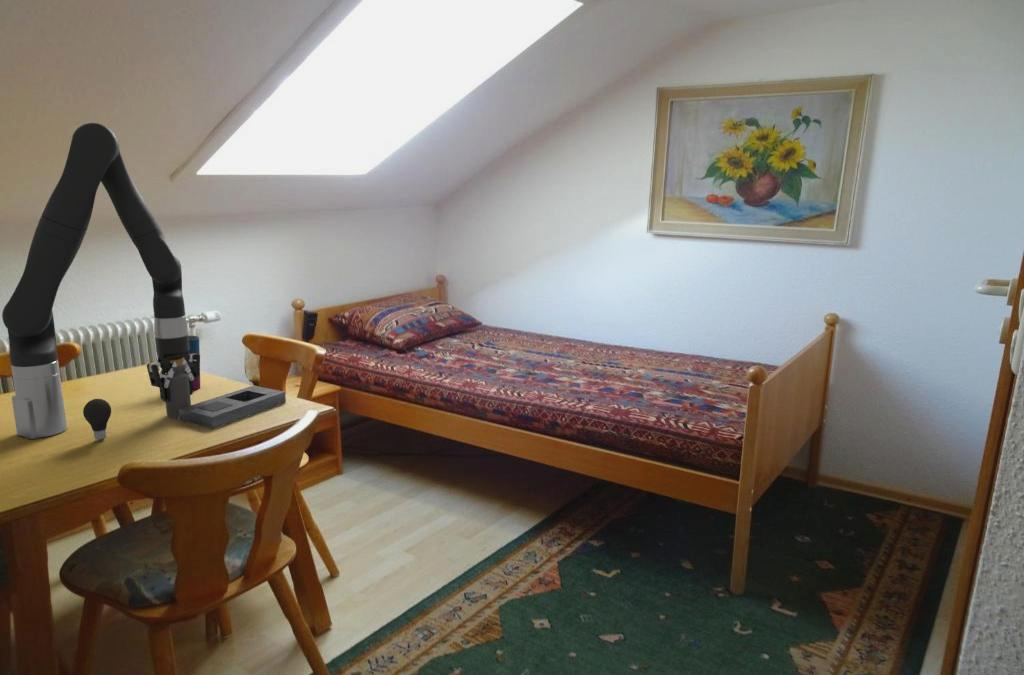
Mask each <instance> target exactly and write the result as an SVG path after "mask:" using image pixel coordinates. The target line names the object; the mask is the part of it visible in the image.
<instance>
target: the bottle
mask: <svg viewBox="0 0 1024 675" xmlns="http://www.w3.org/2000/svg"><path fill="white" fill-rule="evenodd" d="M183 360H184V357H183V358H179V359H175V360H171V361H170V363H172V362H176V364H177V366H176V367H175V368H173V370H172V371H174V374H173V377H172V379H170V382H169V386H168V387H169V391H170V401H169V402H165V411H166V417H167V418H169V419H180V417H179V409H181V408H184V407H188V406H191V405H192V400H191V395H190V388H189V378H188V374H187V373H186V372H184V369H185V368H186V365H183V364H182V363H183ZM166 375H167V373H166ZM164 381H165V378H164Z"/></svg>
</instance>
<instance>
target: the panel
mask: <svg viewBox="0 0 1024 675" xmlns="http://www.w3.org/2000/svg"><path fill="white" fill-rule="evenodd" d="M286 402H287V400H286V391H283V390H279V389H272V388H268V387H262V386H259V385H258V386H257V385H251V386H247V387H243V388H242V389H238V390H236V391H232V392H228V393H225V394H223V395H220V396H217V397H213V398H210V399H206V400H204V401H200V402H197V403H194V404H191V406H188V407H184V408H181V409H179V417H180V418H179V421H180V422H184V423H188V424H193V425H197V426H201V427H204V428H208V429H211V430H213V429H217V428H219V427H222V426H225V425H227V424H229V423H230V424H231V423H232V422H236V421H238V420H241V419H243V418H247V417H249V416H253V415H255V414H257V413H260V412H263V411H265V410H268V409H272V408H274V407H277V406H280V405H282V404H286Z"/></svg>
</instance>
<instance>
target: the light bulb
mask: <svg viewBox="0 0 1024 675" xmlns="http://www.w3.org/2000/svg"><path fill="white" fill-rule="evenodd" d="M82 410H83V411H82V413H83V417H84V419H85V420H86V421H87V422H88V424H89V425H90V426H91V430H92V431H93V437H94V440H98V442H102V441H104V439H106V438H107V424H108V422H109V420H110V418H111V414H112V407H111V405H110V403H109V402H108V401H106V400H105V399H102V398H93V399H91V400H89V401H88V402H87V403H86V404H85V405H84V407H83V409H82Z"/></svg>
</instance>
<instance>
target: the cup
mask: <svg viewBox="0 0 1024 675" xmlns="http://www.w3.org/2000/svg"><path fill="white" fill-rule="evenodd" d="M188 338H189V351H188V352H189V354H191V353H195V354H199V355H200V354H201V353H200V350H201V349H200V336H198V335H188ZM200 356H201V355H200ZM188 366H189V368H190V361H189V362H188ZM193 388H194V391H198V390H200V389H201V374H200V375H199V376H198V377H195V378H194V380H193Z"/></svg>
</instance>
